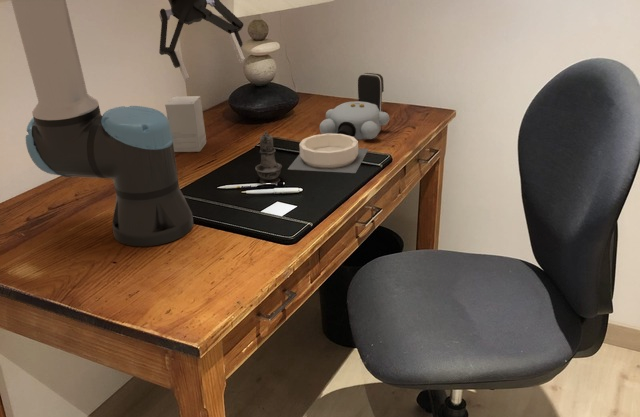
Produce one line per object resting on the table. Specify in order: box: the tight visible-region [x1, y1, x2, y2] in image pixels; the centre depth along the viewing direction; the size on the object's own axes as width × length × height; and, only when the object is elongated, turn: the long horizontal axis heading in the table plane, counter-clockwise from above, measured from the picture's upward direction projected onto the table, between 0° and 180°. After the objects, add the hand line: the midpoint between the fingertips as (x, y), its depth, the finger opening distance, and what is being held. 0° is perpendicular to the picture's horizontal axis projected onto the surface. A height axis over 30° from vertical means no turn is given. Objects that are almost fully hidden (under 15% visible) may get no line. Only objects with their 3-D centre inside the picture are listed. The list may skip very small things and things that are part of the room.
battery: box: [357, 72, 384, 112], centre depth 190 cm, size 7×4×11 cm, turn 61°
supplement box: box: [164, 95, 207, 153], centre depth 170 cm, size 7×7×13 cm
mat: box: [287, 147, 369, 174], centre depth 159 cm, size 16×16×1 cm
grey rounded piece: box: [319, 100, 390, 141], centre depth 174 cm, size 17×8×20 cm
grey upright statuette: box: [255, 130, 283, 184], centre depth 146 cm, size 6×6×12 cm
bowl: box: [298, 133, 359, 168], centre depth 158 cm, size 13×13×4 cm
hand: (215, 70), depth 153 cm, fingers open, 13 cm apart
